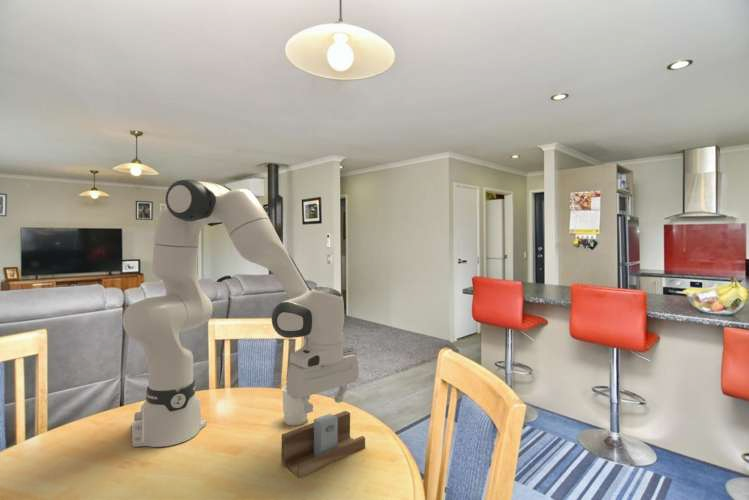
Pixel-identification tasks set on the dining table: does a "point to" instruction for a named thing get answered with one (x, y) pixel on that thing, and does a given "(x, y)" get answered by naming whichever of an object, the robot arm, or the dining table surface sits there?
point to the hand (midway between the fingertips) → (324, 406)
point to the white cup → (293, 409)
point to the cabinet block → (325, 434)
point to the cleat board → (301, 447)
